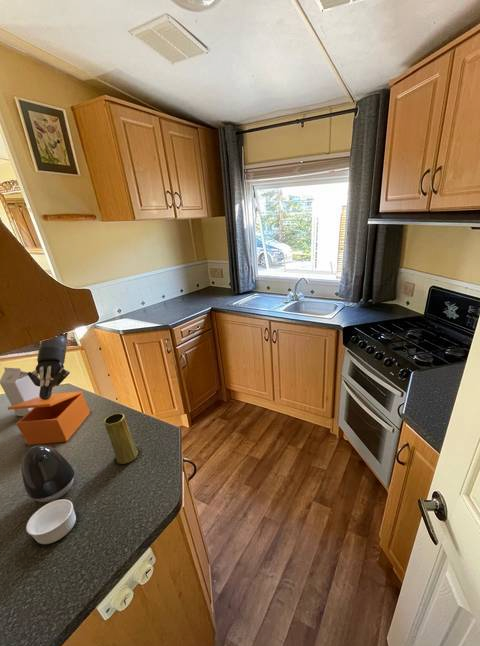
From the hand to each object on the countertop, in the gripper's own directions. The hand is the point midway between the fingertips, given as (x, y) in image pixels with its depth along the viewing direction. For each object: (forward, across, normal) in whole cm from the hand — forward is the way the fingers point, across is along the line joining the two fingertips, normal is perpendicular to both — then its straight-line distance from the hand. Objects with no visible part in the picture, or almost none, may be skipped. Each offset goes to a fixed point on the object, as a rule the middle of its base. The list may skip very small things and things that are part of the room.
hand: (44, 398), depth 95 cm
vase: (+21, +29, -2) cm, 36 cm away
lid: (0, 0, +2) cm, 2 cm away
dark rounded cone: (+29, +15, -10) cm, 34 cm away
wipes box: (+8, 0, +10) cm, 13 cm away
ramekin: (+36, +21, -18) cm, 46 cm away
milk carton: (0, -18, +19) cm, 26 cm away
